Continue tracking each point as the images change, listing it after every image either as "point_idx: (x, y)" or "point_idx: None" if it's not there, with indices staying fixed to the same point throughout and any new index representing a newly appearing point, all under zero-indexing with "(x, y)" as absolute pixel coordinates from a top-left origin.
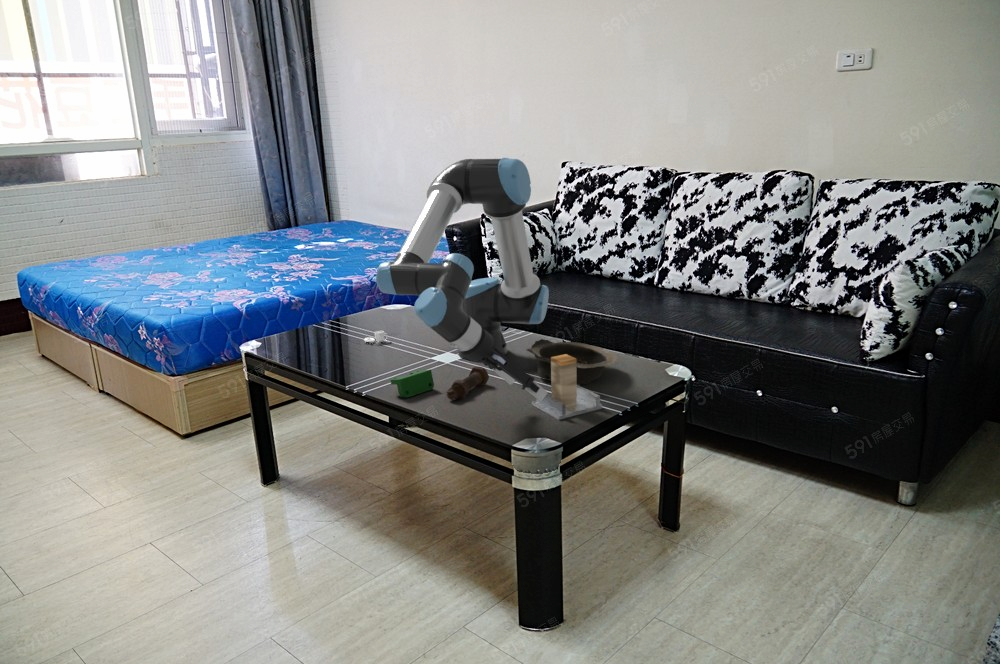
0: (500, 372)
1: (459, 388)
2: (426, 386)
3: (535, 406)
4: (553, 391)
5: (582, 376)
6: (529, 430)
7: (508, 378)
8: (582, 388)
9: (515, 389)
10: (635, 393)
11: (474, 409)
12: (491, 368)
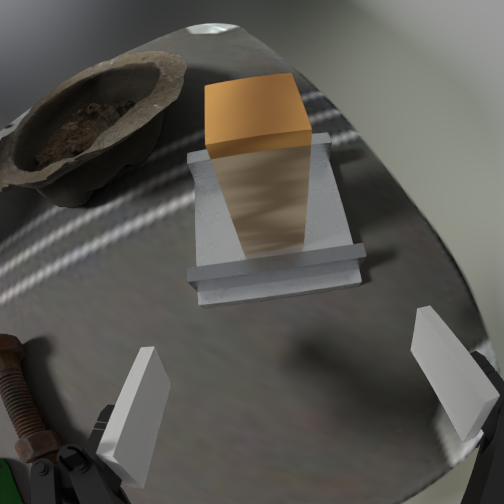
0: (144, 450)
1: None
2: (4, 479)
3: (221, 305)
4: (251, 233)
5: (156, 123)
6: (394, 399)
7: (157, 399)
8: None
9: (78, 294)
10: None
11: (150, 476)
12: (118, 493)
